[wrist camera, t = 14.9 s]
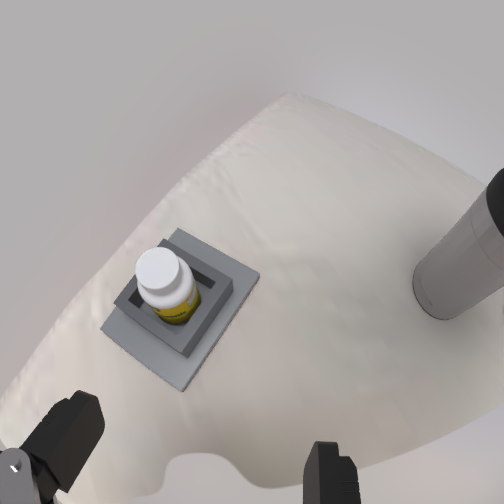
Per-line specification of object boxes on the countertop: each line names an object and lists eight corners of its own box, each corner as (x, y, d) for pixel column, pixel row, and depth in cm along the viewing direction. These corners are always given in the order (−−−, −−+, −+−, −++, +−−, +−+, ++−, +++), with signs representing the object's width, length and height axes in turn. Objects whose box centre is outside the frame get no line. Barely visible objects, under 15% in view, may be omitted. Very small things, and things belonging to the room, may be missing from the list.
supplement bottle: (149, 320, 34) (118, 288, 25) (163, 277, 36) (139, 234, 28) (195, 332, 33) (176, 302, 25) (207, 287, 36) (194, 244, 27)
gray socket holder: (179, 232, 40) (172, 211, 36) (259, 277, 38) (261, 259, 34) (103, 331, 34) (86, 320, 30) (183, 391, 31) (173, 389, 27)
